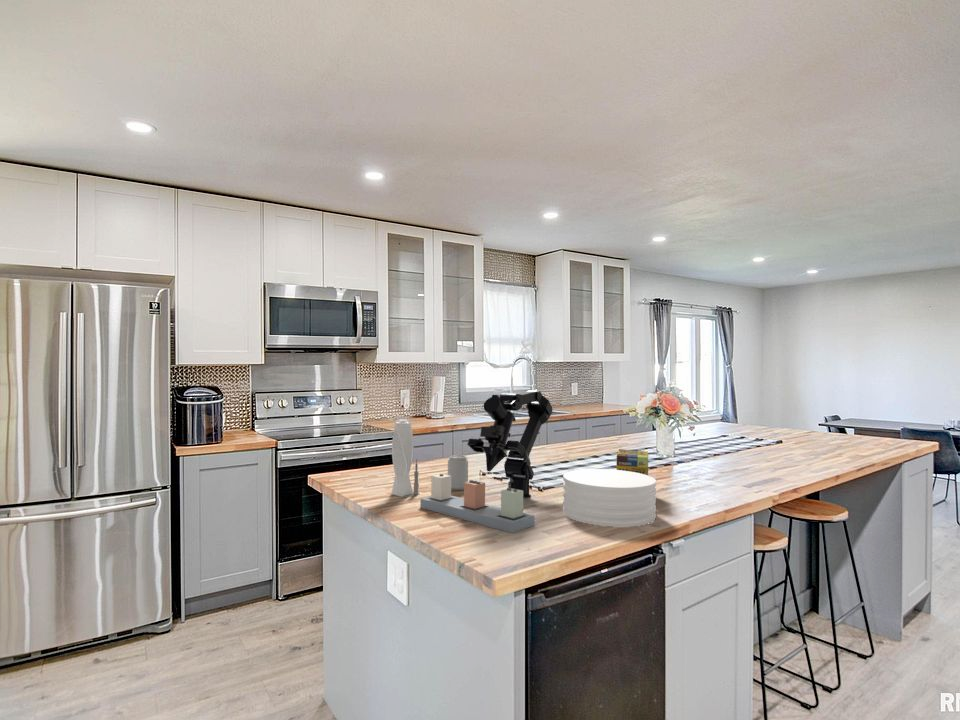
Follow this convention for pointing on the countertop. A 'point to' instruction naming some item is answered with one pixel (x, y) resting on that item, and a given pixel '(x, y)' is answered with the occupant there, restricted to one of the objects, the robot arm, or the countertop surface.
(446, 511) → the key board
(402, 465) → the skyscraper
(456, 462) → the can
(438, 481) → the cream block
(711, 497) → the countertop surface
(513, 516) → the green block
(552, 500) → the countertop surface
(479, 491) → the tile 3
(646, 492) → the plate stack
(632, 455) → the protein box
